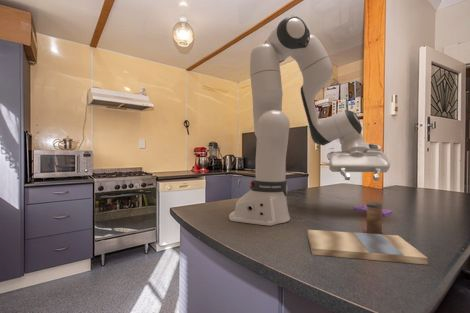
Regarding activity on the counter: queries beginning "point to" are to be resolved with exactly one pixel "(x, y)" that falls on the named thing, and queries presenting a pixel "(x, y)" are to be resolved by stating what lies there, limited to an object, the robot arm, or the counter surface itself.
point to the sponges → (364, 209)
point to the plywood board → (364, 246)
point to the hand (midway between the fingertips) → (362, 179)
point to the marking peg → (374, 218)
